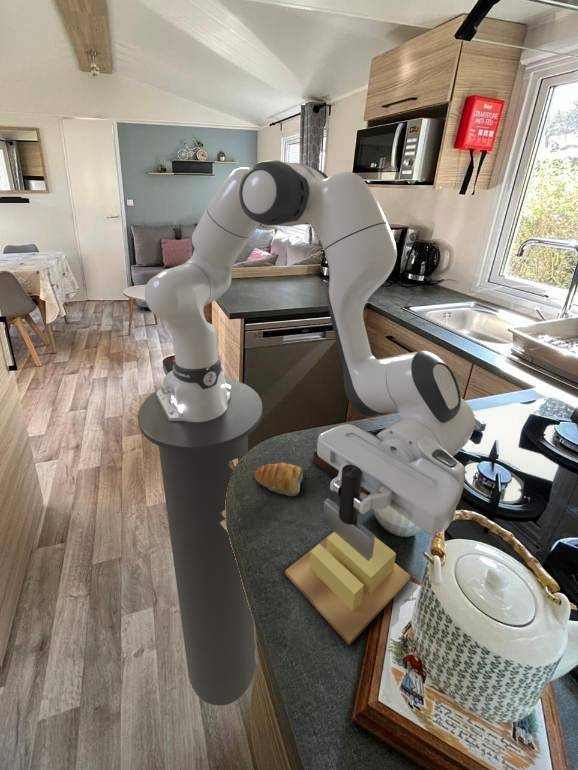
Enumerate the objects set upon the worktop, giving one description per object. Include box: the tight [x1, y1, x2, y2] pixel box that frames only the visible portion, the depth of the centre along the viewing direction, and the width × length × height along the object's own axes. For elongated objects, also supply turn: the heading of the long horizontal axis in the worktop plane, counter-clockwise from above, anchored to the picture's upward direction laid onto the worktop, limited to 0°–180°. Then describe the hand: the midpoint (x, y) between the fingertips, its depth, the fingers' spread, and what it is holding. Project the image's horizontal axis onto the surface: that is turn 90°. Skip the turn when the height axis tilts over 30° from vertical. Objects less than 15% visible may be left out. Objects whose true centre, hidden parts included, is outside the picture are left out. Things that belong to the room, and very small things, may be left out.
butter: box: [326, 531, 397, 595], centre depth 58 cm, size 8×6×4 cm
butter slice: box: [309, 543, 364, 612], centre depth 55 cm, size 8×2×4 cm, turn 37°
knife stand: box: [313, 448, 371, 496], centre depth 77 cm, size 12×7×3 cm, turn 37°
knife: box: [322, 465, 376, 561], centre depth 52 cm, size 8×2×12 cm, turn 37°
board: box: [284, 531, 411, 646], centre depth 57 cm, size 12×14×1 cm
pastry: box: [253, 461, 304, 497], centre depth 75 cm, size 9×7×4 cm
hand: (345, 498), depth 51 cm, fingers closed on knife, 2 cm apart
